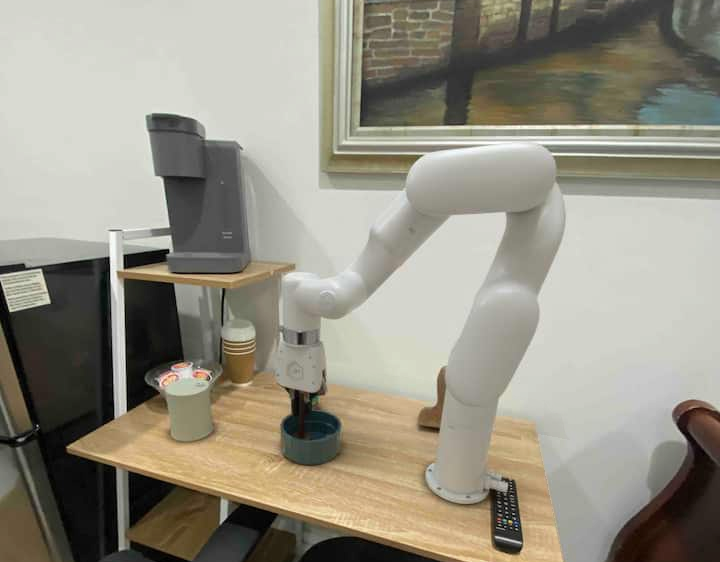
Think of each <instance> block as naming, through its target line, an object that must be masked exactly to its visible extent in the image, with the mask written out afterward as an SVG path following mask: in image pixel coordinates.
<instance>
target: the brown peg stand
mask: <svg viewBox="0 0 720 562" xmlns="http://www.w3.org/2000/svg"><path fill="white" fill-rule="evenodd" d="M302 401H304V391H299V431H298V432H295V433H294V434H293V435H292V437H294V438H298V439H301V440H312V435H311V433H309V432H307V431H305V419H303V418H302V417H301V403H302Z"/></svg>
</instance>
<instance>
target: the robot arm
mask: <svg viewBox="0 0 720 562" xmlns="http://www.w3.org/2000/svg"><path fill="white" fill-rule="evenodd" d="M557 169H558V167H557V162H556V160H555V158H554V156H553V154H552V153H551V151H550V150H549V149H548V148H546V147H545V146H544V145H541V144H539V143H537V142H532V141H513V142H512V141H511V142H504V143H496V144H487V145H480V146H472V147H471V146H470V147H463V148H454V149H453V148H451V149H444V150H436V151H432V152H428V153H427V154H424V155H423V156H420V157H419V158H418V159H417V160H416V161H415V162H414V163H413V165H412V166H411V167H410V169H409V171H408V173H407V175H406V179H405V187H404V188H403V190H402V191H401V192H400V193H399V194H398V195H397V196H396V198H394V200H393V201H392V202H391V203H390V204H389V205H388V206H387V207H386V208H385V210H384V211H383V212H382V213H381V214H380V215H379V216H378V217H377V219H375V220H374V222H373V223H372V224H371V226H370V229H369V234H368V239H367V241H366V244H365V245H364V247H363V249H362V250H361V251H360V252H359V254H358V255H357V256H356V257H355V258H354V259H353V260H352V262H351V263H350V264H349V265H348V266H347V267H346V268H345V269H344V270H343V271H342V272H340V273H338V274H336V275H333V276H331V277H326V278H321V277H320V276H319V275H318V274H316V273H313V272H307V271H293V272H288V273H286V274H285V275H284V276H283V277H282V280H281V281H282V282H281V288H282V289H281V291H282V294H281V296H282V298H281V299H282V325H281V324H280V325H279V326H278V328H277V330H278V332H279V333H282V338H280V339H279V342H278V346H277V350H276V351H277V352H276V359H275V381H276V384H277V385H278V386H279V387H281V388H283V389H284V390H285V391H286V393H287V394H288V396H289V399H290V400H291V399H292V410H293V416H297V415H298V414H299V391H300V390H301V391H304V401H302V403H301V417H302V418H303V419H305V418H306V417H307V416H308V415H309V414H311V412H312V399H313V398H314V397H316V396H318V397H323V396H326V395H327V394H328V393H329V389H328V386H327V380H328V375H327V374H328V372H327V371H328V370H327V368H328V366H327V356H326V350H325V345H324V341H322V339H321V335H322V332H321V331H322V330H321V329H322V318H323V319H327V320H334V321H335V320H340V319H343V318H344V317H346V316H347V315H349V314H351V312H353V311H354V310H356V309H357V308H359V307H360V306H362V305H363V304H364V303H365V302H366V301H367V300H368V299H369V298H370V297H371V296H372V295H373V294H374V293H375V292H377V290H378V289H379V288H380V287H381V286H382V285H383V284H384V283H385V282H386V281H387V280H388V279H389V278H390V277H391V276H392V275H393V274H394V273H395V272H396V271H397V270H398V269H399V268H401V267H402V266H403V265H404V264H405V263H406V262H407V261H408V260H409V259H410V258H411V256H412V255H414V254H415V252H416V251H418V249H419V248H420V247H421V246H422V245H423V244H424V243H425V242H426V241H427V240H428V239H429V238H431V236H432V235H433V234H434V233H435V232H436V231H437V230H438V229H440V228H441V226H443V224H445V223H446V222H447V221H448V220H449V219H450V217H451V216H462V215H463V216H464V215H481V214H482V215H483V214H495V213H497V214H498V213H505V220H506V221H505V228H504V231H503V235H502V237H501V240H500V242H499V244H498V247H497V250H496V253H495V255H494V258H493V260H492V262H491V264H490V267H489V269H488V272H487V274H486V275H485V278H484V279H483V282H482V284H481V285H480V287H479V289H478V290H477V292H476V294H475V296H474V298H473V302H472V305H471V309H470V311H469V314H468V316H467V318H466V321H465V323H464V325H463V328H462V330H461V333H460V335H459V337H458V338H457V340H456V341H454V344H453V345H452V348H451V350H450V353H449V355H448V360H447V363H446V366H447V367H446V371H445V382H446V392H445V399H444V405H443V412H442V419H441V426H440V428H439V435H438V440H437V448H436V455H435V461H434V462H431V463H430V464H429V465H428V466H427V467H426V471H425V478H424V479H425V483H426V484H427V486H428V487H429V489H430V490H431V491H432V492H433V493H434V494H435V495H437V496H438V497H440V498H441V499H443V500H446V501H448V502H451V503H455V504H461V505H472V504H477V503H480V502H482V501H484V500H485V499H486V498H487V497H488V496H489V493H490V489H492V490H495V491H497V492H499V493H500V492H501V493H504V494H507V493H508V489H509V482H506V481H503V480H502V479H503V478H502V477H503V475H502V474H499V473H496V472H491V471H490V469H488V462H487V461H488V455H489V452H490V446H491V440H492V436H493V430H494V426H495V421H496V416H497V413H498V406H499V401H500V398H501V397H502V395H503V394H504V393H505V391H506V390H507V388H508V386H509V385H510V383H511V381H512V379H513V378H514V375H516V372H517V370H518V368H519V366H520V364H521V362H522V360H523V358H524V357H525V354H526V353H527V351H528V348H529V346H530V345H531V342H532V340H533V338H534V336H535V334H536V332H537V329H538V325H539V322H540V316H541V315H540V314H541V309H540V304H539V299H538V297H539V295H540V292H541V289H542V287H543V285H544V284H545V283H544V282H545V281H546V278H547V276H548V275H549V272H550V269H551V268H552V265H553V262H554V260H555V258H556V256H557V254H558V251H559V249H560V246H561V244H562V241H563V237H564V234H565V229H566V222H567V221H566V218H567V217H566V215H567V212H566V205H565V200H564V196H563V193H562V190H561V188H560V186H559V184H558V182H557V181H556V179H557V174H558V173H557V171H558V170H557Z"/></svg>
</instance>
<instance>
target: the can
mask: <svg viewBox="0 0 720 562" xmlns="http://www.w3.org/2000/svg"><path fill="white" fill-rule="evenodd" d="M164 392H165V397H166V398H165V399H166V403H167V410H168V416H169V417H168V419H169V426H170V436H171V438H172V439H174V440H176V441H178V442H185V443H187V442H188V443H189V442H195V441H198V440H201V439H204V438H206V437H208V436H209V435H211V434H212V432H213V431H214V425H213V423H214V422H213V419H212V417H213V416H212V407H211V395H210V383H209V381H208V380H206V379H203V378H200V377H185V378H180V379H177V380H174V381H171V382H170V383H168V384H167V385H165V387H164Z"/></svg>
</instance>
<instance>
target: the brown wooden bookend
mask: <svg viewBox="0 0 720 562" xmlns="http://www.w3.org/2000/svg"><path fill="white" fill-rule="evenodd" d="M446 367H447V365H444V366H442V367H441V368H440V370H439V372H438V374H437V377H436V394H437V396H436V397H437V399H436V404H435V405H434V406H424V407H423V408H422V409H420V411H419V414H418V417H417V425H418V426H423V427H424V426H425V427H429V428H435V429H440V426H441V419H442V412H443V405H444V399H445V392H446V382H445V371H446Z"/></svg>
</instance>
